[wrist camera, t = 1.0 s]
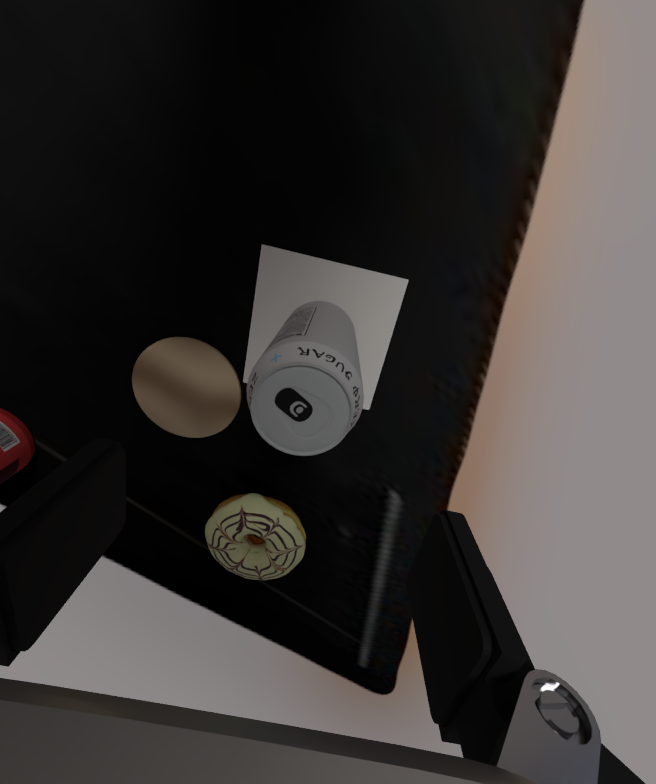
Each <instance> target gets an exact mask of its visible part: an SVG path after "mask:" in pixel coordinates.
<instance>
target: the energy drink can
mask: <svg viewBox="0 0 656 784" xmlns="http://www.w3.org/2000/svg"><path fill="white" fill-rule="evenodd" d="M247 401H248V405H249V409H250V411H251V417H252V421H253V423H254V426H255V428H256V430H257V431H258V433H259V434H260V435H261V437H262V438H263V439H264V440H265V441H266V442H267V443H268V444H270V445H271V446H273V447H274V448H276V449H278V450H280V451H282V452H285V453H288V454H292V455H298V456H310V455H316V454H320V453H323V452H325V451H328V450H330V449H332V448H333V447H334V446H336V445H337V444H338V443H339V442H340V441H341V440H342V439H343V438H344V437H345V435H346V434H347V433H348V432H349V431H350V430H351V429H352V428H353V427H354V425H355V423H356V422H357V420H358V419H359V417H360V414H361V411H362V408H363V401H364V392H363V383H362V376H361V369H360V362H359V355H358V348H357V341H356V334H355V329H354V326H353V323H352V321H351V319H350V317H349V316H348V315H347V313H346V312H345V311H344V310H342V309H341V308H340V307H339V306H337V305H335V304H333V303H330V302H326V301H312V302H308V303H305V304H303V305H301V306H300V307H298V308H297V309H296V310H294V311H293V312H292V314H291V315H290V316H289V318H288V319H287V321H286V322H285V323H284V325H283V326H282V328H281V329H280V330H279V332H278V333H277V335H276V336H275V337H274V339H273V340H272V342H271V343H270V344H269V346H268V347H267V349H266V350H265V351H264V353H263V354H262V356H261V357H260V358H259V360H258V361H257V363H256V364H255V365H254V367H253V369H252V371H251V373H250V375H249V378H248V383H247Z"/></svg>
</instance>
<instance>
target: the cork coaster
mask: <svg viewBox="0 0 656 784" xmlns="http://www.w3.org/2000/svg"><path fill="white" fill-rule="evenodd" d="M132 385H133V390H134V394H135V397H136V399H137V401H138V403H139V405H140V407H141V408H142V410H143V411H144V413H145V414H146V415H147V416H148V417H149V418H150V419H151V420H152V421H153V422H154V423H156V424H157V425H158V426H160V427H161V428H163V429H164V430H166V431H168V432H171V433H173V434H176V435H179V436H183V437H189V438H201V437H207V436H211V435H214V434H216V433H218V432H220V431H222V430H223V429H225V428H226V427H227V426H228V425H229V424H230V423H231V421H232V420H233V419H234V417H235V415H236V414H237V412H238V409H239V407H240V403H241V385H240V381H239V378H238V375H237V373H236V371H235V369H234V368H233V366H232V365H231V363H230V362H229V361H228V359H227V358H226V357H225V356H224V355H223V354H222V353H221V352H219V351H218V350H217V349H215V348H214V347H212V346H211V345H209V344H207V343H205V342H203V341H200V340H197V339H194V338H188V337H170V338H166V339H163V340H160V341H158V342H156V343H154V344H152V345H151V346H149V347H148V348H147V349H145V350H144V351H143V352H142V353H141V355H140V356H139V357H138V359H137V361H136V363H135V366H134V369H133V374H132Z"/></svg>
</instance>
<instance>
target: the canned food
mask: <svg viewBox="0 0 656 784" xmlns="http://www.w3.org/2000/svg"><path fill="white" fill-rule="evenodd" d="M34 452H35V444H34V439H33V437H32V435H31V433H30V431H29V430H28V428H27V427H26V426H25V425H24V424H23V423H22V421H20V420H19V419H18V418H17V417H16V416H14V415H12V414H11V413H9V412H8V411H6V410H4V409H1V408H0V484H1V483H3V482H4V481H5V480H7V479H8V478H10V477H11V476H12V475H14V474H15V473H17V472H18V471H19V470H21V469H22V468H24V467H25V466H26V465H27V464H28V462H29V461H30V460H31V458H32V457H33V455H34Z"/></svg>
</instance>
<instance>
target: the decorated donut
mask: <svg viewBox="0 0 656 784" xmlns="http://www.w3.org/2000/svg"><path fill="white" fill-rule="evenodd" d="M253 534H255V535H257V536H259V537H255V536H254V535H253ZM205 536H206V540H207V544H208V547H209V550H210V552H211V554H212V555H213V557H214V558H215V559H216V560H217V561H218V562H219V563H220V564H221V565H222V566H223V567H224V568H225V569H227V570H228V571H231V572H233V573H234V574H237V575H240V576H242V577H244V578H246V579H254V580H268V579H275V578H279V577H281V576H283V575H286V574H287V573H288V572H289V571H291V570H292V569H293V568H294V567H295V566H296V565H297V564H298V563H299V562H300V561H301V560H302V558H303V556H304V551H305V540H306V534H305V531H304V529H303V527H302V524H301V522H300V520H299V517H298V516H297V515H296V513H295V512H294V511H293V510H292V509H291V508H290V507H289V506H288V505H286V504H285V503H283V502H281V501H279V500H276V499H273V498H270V497H266V496H262V495H260V494H256V493H249V494H242V495H236V496H233V497H231V498H229V499H227V500H224V501H223V502H221V503H220V504H219V505H218V507H217V508H216V509H215V511H214V513H213V514H212V517H211V518H210V519H209V520H208V522H207V524H206V527H205Z"/></svg>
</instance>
